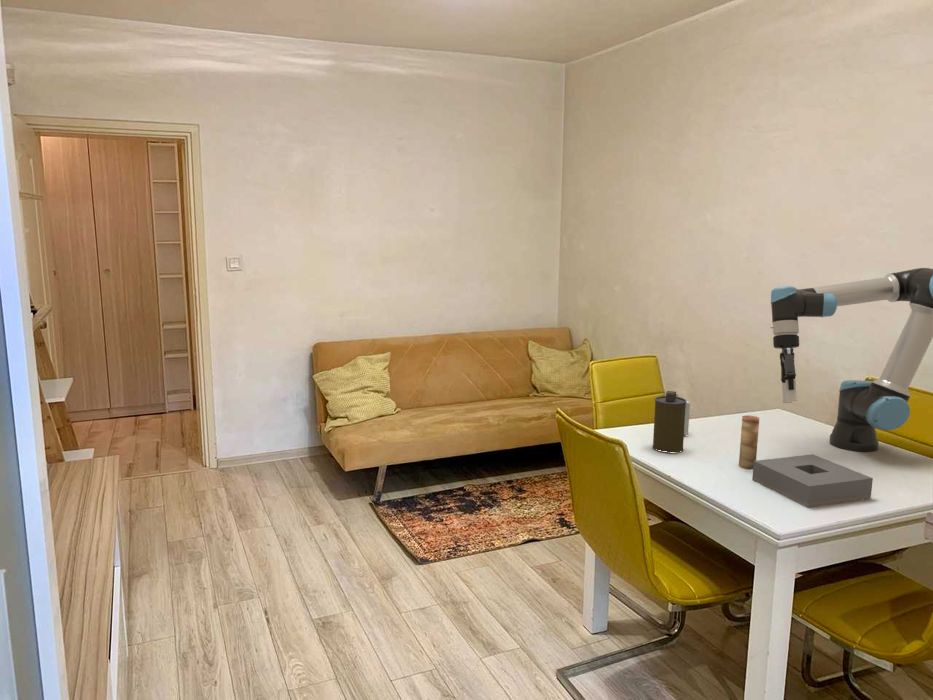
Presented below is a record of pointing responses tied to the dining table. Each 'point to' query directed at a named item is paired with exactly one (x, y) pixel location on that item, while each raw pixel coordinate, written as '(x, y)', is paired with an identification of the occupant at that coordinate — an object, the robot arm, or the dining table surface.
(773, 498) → the dining table surface
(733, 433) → the dining table surface
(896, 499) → the dining table surface
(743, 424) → the oak peg
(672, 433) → the canister
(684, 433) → the supplement box
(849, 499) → the socket block
